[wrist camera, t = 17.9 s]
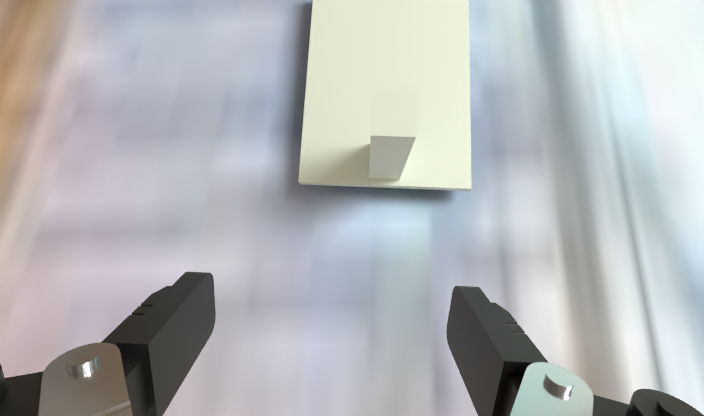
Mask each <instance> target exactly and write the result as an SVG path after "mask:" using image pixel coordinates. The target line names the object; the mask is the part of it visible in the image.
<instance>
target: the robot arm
mask: <svg viewBox="0 0 704 416" xmlns="http://www.w3.org/2000/svg"><path fill="white" fill-rule="evenodd" d="M214 324H215V298H214V281H213V276H212V274H211V273H202V272H185V273H184V274H183V275H182V276H181V277H180V278H179V279H178V280H177V281H176V282H175V283H174V284H173V285H172V286H166V287H164V288H163V289H161V290H159V291H157V292H155V293H153V294H151V295H150V296H149V297H148V298H147V299H146V300H145V301H144V302H143V303H142V304H141V306H139V307H138V308H137V309H136V310H135V311H134V312H133V313H132V315H129V316H128V317H127V318H126V319H125V320H124V321H123V322H122V323H121V324H120V325H119V326H118V327H117V328H116V329H115V330H114V331H113V332H112V333H111V334H109V335H108V336H107V337H106V338H105V339H104V340H103V341H102V342H101V343H93V344H88V345H84V346H80V347H77V348H75V349H72V350H70V351H68V352H66V353H64V354H62V355H61V356H59V357H57V358H56V359H55V360H53V361H52V362H51V363H50V364H49V365H48V366H47V367H46V369H45V370H44V372H38V373H33V374H27V375H21V376H15V377H9V378H4V374H3V371H2V367H1V364H0V416H163V414H164V412H165V411H166V409H167V407H168V406H169V404H170V402H171V401H172V399H173V397H174V396H175V394H176V392H177V391H178V389H179V387H180V386H181V384H182V382H183V381H184V379H185V377H186V376H187V374H188V372H189V371H190V369H191V367H192V366H193V364H194V362H195V361H196V359H197V357H198V356H199V354H200V352H201V351H202V349H203V347H204V346H205V344H206V342H207V341H208V339H209V337H210V336H211V334H212V331H213V328H214ZM447 341H448V345H449V348H450V350H451V352H452V355H453V357H454V360H455V362H456V364H457V367H458V369H459V371H460V374H461V376H462V379H463V381H464V383H465V386H466V388H467V390H468V393H469V395H470V397H471V400H472V402H473V405H474V407H475V409H476V412H477V414H478V416H704V415H703V414H701V413H700V412H699V411H697V410H696V409H695V408H693V407H692V406H690V405H689V404H687V403H685V402H683V401H681V400H680V399H678V398H675V397H673V396H671V395H668V394H666V393H663V392H660V391H656V390H651V389H639V390H637V391H635V392H634V393H633V396H632V398H631V401H630V404H625V403H621V402H618V401H614V400H610V399H607V398H603V397H599V396H596V395H593V393H592V391H591V389H590V388H589V386H588V385H587V384H586V383H585V382H584V381H583V380H582V379H581V378H580V377H578V376H577V375H575V374H574V373H572V372H571V371H569V370H567V369H565V368H563V367H560V366H558V365H555V364H551V363H548V361H547V360H546V359H545V358H544V356H543V355H542V354H541V353H540V351H539V350H538V349H537V347H536V346H535V345H534V344H533V342H532V341H531V340H530V339H529V337H528V336H527V335H526V334H524V331H523V330H522V328H521V327H520V326H519V325H517V322H516V321H515V319H514V318H513V317H512V316H511V314H510V313H509V312H508V311H506V310H505V309H503V308H502V307H501V306H499V305H498V304H496V303H491V302H490V301H489V300H488V298H487V297H486V296H485V294H484V293H483V292H482V290H481V289H480V288H479V287H467V286H455V287H454V289H453V293H452V299H451V305H450V311H449V317H448V323H447Z"/></svg>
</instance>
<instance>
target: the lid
mask: <svg viewBox="0 0 704 416" xmlns="http://www.w3.org/2000/svg"><path fill="white" fill-rule="evenodd" d="M298 182H299V184H303V185H328V186H353V187H378V188H404V189H429V190H454V191H469V190H470V189H471V127H470V55H469V0H313V5H312V17H311V29H310V42H309V54H308V67H307V79H306V92H305V104H304V116H303V129H302V141H301V154H300V166H299V178H298Z"/></svg>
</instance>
